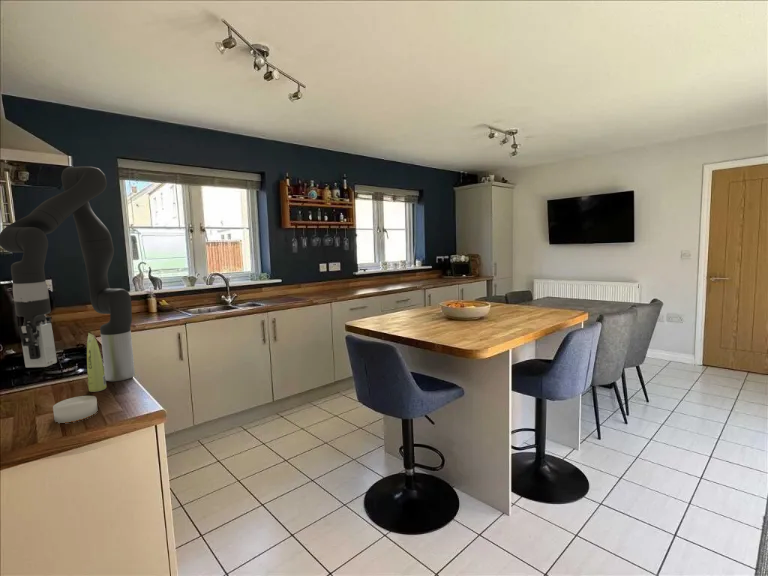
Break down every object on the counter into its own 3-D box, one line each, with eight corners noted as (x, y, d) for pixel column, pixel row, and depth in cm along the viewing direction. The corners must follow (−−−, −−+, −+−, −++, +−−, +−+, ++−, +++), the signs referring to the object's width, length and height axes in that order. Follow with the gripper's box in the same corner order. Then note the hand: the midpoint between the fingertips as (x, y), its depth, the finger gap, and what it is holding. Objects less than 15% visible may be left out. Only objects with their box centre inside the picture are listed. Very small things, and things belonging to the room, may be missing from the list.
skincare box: (57, 362, 118) (52, 323, 117) (46, 367, 114) (40, 326, 112) (36, 363, 118) (31, 323, 116) (24, 367, 114) (18, 327, 112)
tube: (83, 392, 134) (76, 335, 131) (94, 386, 139) (88, 332, 136) (100, 392, 134) (94, 335, 131) (110, 386, 139) (104, 331, 136)
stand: (63, 411, 119) (61, 398, 119) (102, 406, 122) (101, 393, 122) (48, 426, 110) (46, 412, 109) (91, 420, 113) (89, 406, 113)
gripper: (27, 295, 119) (35, 350, 121) (1, 303, 105) (10, 365, 108) (58, 293, 121) (65, 347, 124) (36, 301, 108) (44, 361, 110)
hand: (40, 355), depth 116 cm, fingers closed on skincare box, 5 cm apart
